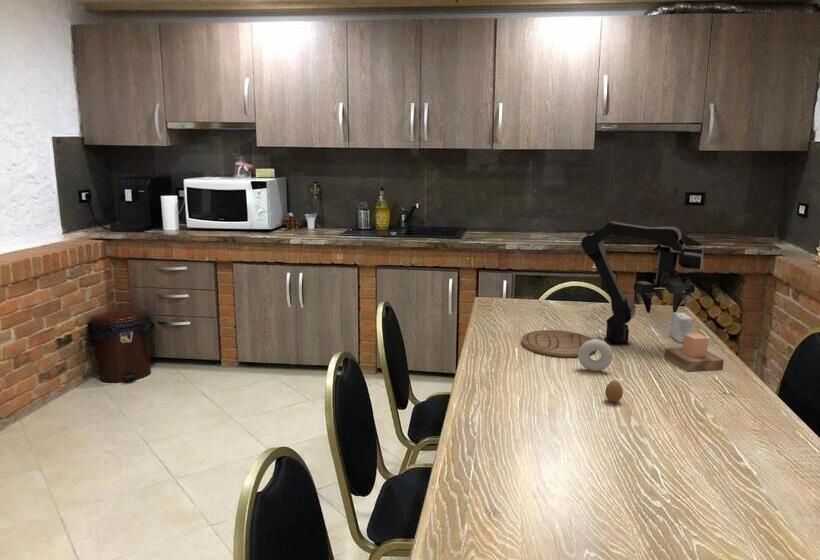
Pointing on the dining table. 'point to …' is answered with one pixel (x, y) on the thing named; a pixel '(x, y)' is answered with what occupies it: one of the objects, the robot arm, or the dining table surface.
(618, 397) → the egg
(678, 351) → the walnut base
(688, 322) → the medicine box
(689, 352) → the terracotta block
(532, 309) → the dining table surface
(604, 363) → the donut
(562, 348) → the trivet
